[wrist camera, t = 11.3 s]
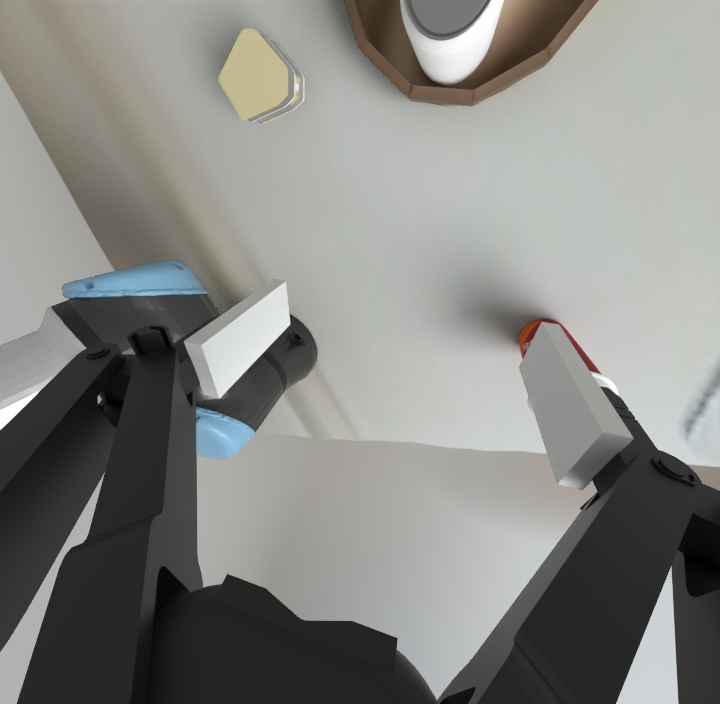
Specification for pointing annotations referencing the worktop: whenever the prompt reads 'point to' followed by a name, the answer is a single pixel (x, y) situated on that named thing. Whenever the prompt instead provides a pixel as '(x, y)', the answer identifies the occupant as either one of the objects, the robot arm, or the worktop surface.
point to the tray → (497, 69)
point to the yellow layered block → (261, 78)
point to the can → (450, 35)
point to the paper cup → (603, 381)
